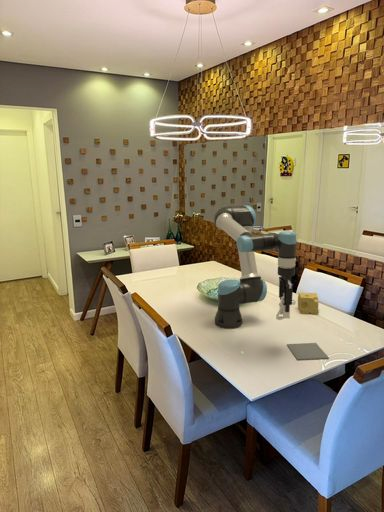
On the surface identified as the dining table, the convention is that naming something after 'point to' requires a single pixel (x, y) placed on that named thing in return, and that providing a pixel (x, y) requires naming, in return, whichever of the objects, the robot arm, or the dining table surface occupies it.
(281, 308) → the figurine
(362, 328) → the dining table surface
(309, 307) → the cheese
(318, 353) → the mat
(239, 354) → the dining table surface
